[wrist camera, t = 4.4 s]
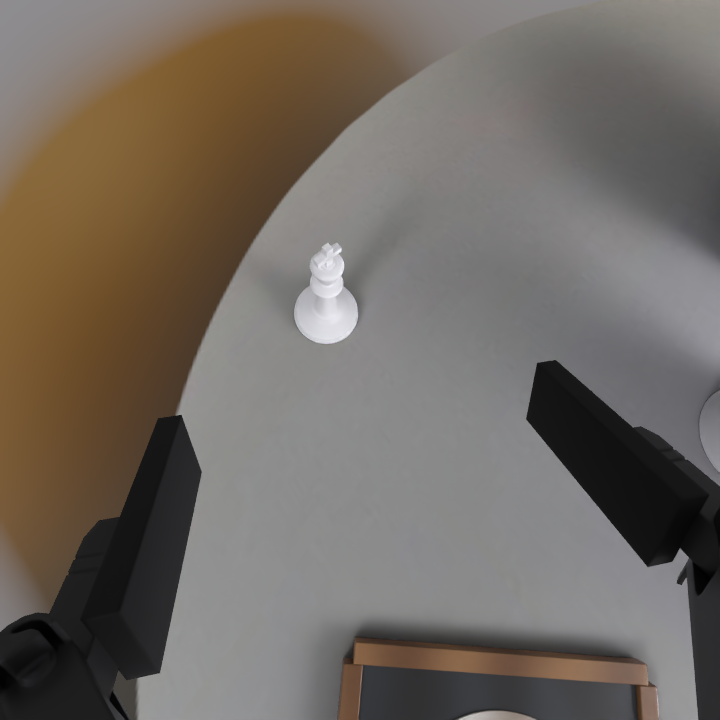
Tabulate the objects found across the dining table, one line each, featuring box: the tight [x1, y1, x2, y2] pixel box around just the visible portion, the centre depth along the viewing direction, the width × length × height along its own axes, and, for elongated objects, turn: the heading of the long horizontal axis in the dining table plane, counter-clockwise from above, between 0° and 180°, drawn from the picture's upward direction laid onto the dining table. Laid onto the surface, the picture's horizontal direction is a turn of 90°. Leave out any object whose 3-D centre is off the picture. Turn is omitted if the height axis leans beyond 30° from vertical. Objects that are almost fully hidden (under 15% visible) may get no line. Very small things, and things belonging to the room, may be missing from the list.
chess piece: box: [294, 242, 358, 344], centre depth 27 cm, size 5×5×10 cm
